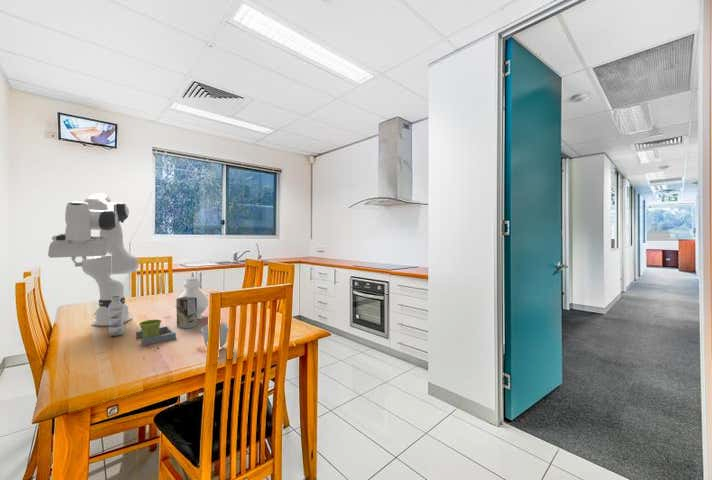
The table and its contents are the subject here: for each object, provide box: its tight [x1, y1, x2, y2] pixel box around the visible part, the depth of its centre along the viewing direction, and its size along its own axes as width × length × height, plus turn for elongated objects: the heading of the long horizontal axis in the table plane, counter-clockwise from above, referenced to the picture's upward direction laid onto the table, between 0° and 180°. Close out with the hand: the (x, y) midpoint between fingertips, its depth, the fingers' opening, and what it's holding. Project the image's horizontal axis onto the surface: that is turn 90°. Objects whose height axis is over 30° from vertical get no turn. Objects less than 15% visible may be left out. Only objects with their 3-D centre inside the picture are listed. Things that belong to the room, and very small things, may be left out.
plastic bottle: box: [108, 296, 125, 337], centre depth 158 cm, size 6×7×20 cm
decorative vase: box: [175, 276, 209, 320], centre depth 190 cm, size 18×18×25 cm
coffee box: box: [175, 297, 198, 329], centre depth 174 cm, size 9×6×16 cm
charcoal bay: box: [135, 325, 177, 347], centre depth 155 cm, size 15×14×3 cm
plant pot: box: [138, 319, 162, 339], centre depth 153 cm, size 9×9×9 cm
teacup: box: [200, 323, 230, 348], centre depth 143 cm, size 12×15×10 cm
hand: (79, 266), depth 143 cm, fingers closed
